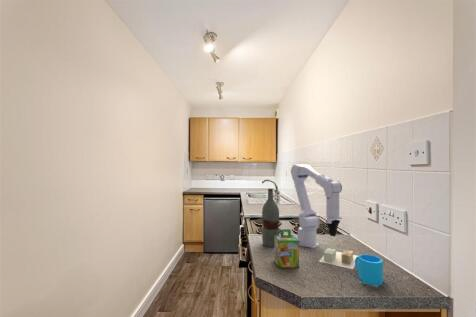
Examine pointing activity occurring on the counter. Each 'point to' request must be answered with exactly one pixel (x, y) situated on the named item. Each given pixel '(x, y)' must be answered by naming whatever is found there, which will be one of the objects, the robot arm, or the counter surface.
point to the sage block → (330, 255)
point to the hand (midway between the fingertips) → (332, 235)
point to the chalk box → (286, 250)
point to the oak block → (347, 257)
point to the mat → (340, 261)
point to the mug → (370, 269)
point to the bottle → (270, 220)
